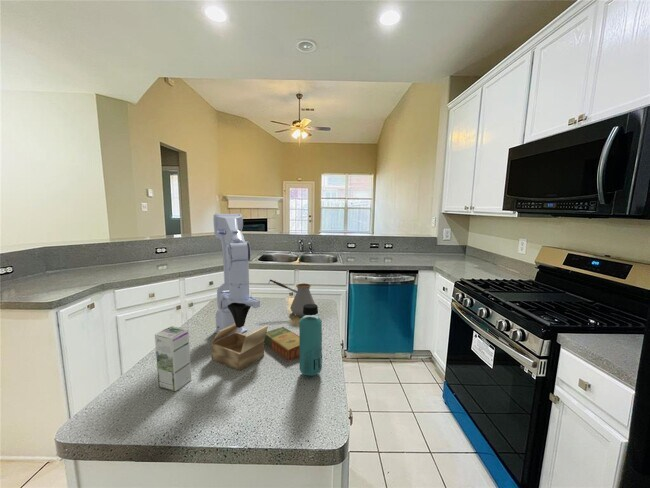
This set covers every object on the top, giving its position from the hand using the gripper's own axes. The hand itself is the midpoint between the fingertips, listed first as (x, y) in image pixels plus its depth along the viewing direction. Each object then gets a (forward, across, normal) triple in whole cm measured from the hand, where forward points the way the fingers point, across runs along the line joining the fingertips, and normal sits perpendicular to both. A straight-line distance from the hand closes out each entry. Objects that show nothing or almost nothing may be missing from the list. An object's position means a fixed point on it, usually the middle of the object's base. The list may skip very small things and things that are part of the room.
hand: (240, 326), depth 87 cm
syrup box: (+10, -5, -18) cm, 22 cm away
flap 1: (+3, -5, 0) cm, 6 cm away
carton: (+11, +8, +13) cm, 18 cm away
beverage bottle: (+10, +23, +4) cm, 26 cm away
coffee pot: (+11, -10, +40) cm, 42 cm away
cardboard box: (+10, -1, 0) cm, 10 cm away
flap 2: (+2, +6, 0) cm, 6 cm away
